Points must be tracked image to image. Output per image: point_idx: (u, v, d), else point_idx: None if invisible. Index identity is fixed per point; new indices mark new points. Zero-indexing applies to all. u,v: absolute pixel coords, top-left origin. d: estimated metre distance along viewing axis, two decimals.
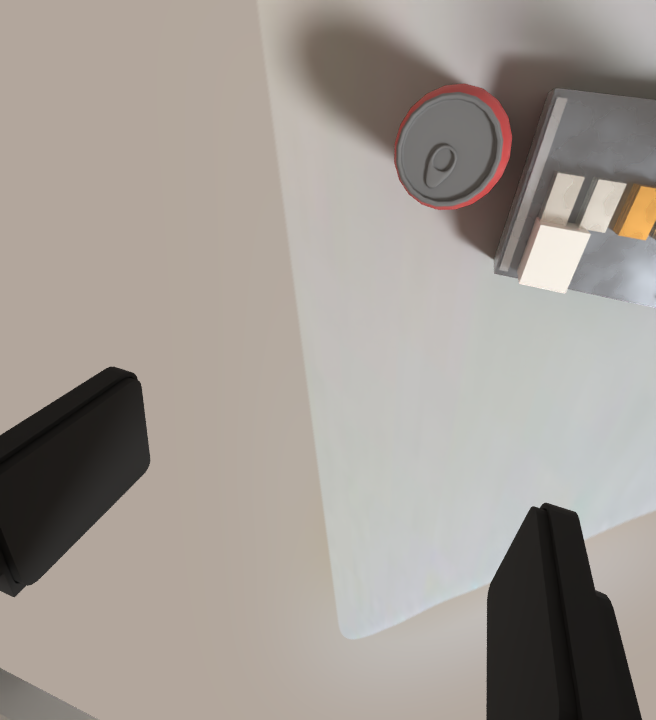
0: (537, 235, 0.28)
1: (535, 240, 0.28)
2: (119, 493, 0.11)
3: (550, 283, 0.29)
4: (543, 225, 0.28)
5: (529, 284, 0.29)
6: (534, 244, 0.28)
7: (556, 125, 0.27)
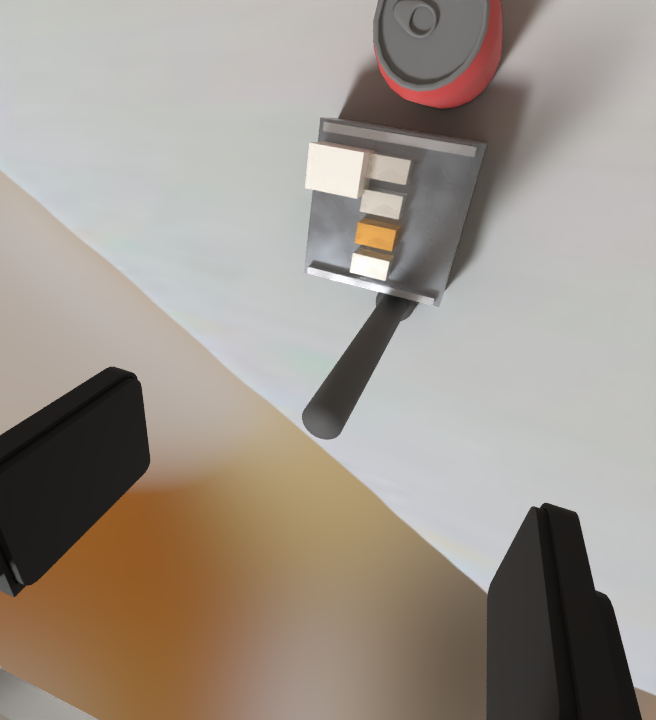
0: (354, 151, 0.29)
1: (350, 150, 0.29)
2: (119, 493, 0.11)
3: (312, 172, 0.31)
4: (363, 155, 0.29)
5: (309, 153, 0.30)
6: (346, 150, 0.29)
7: (452, 151, 0.29)
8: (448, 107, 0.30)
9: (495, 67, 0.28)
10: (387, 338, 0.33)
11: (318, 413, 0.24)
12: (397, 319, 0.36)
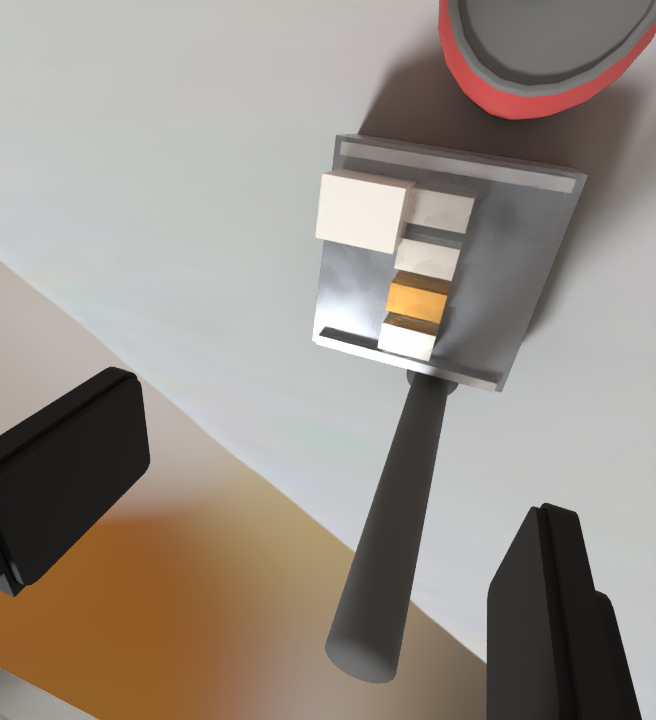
0: (391, 187, 0.20)
1: (384, 185, 0.20)
2: (119, 493, 0.11)
3: (326, 216, 0.21)
4: (404, 192, 0.19)
5: (322, 188, 0.20)
6: (378, 185, 0.20)
7: (537, 185, 0.20)
8: None
9: None
10: (436, 448, 0.23)
11: (354, 649, 0.14)
12: (443, 409, 0.26)
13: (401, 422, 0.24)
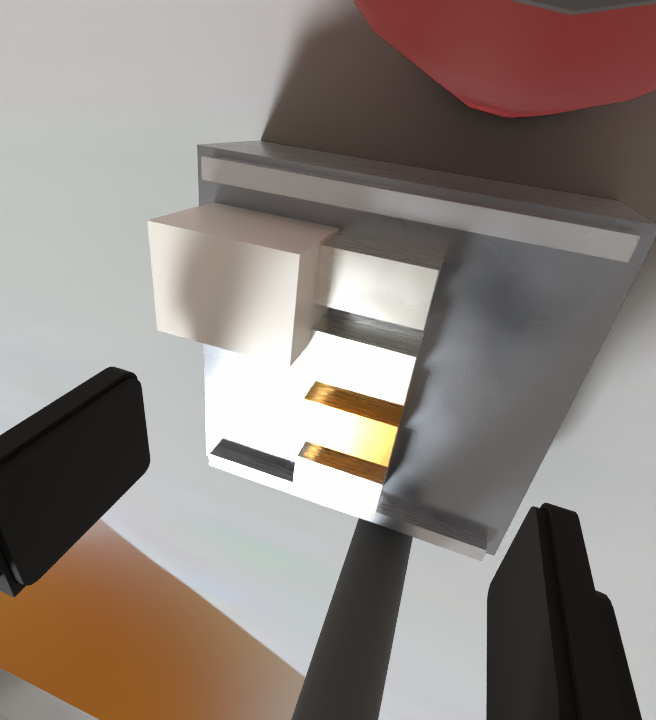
0: (272, 249, 0.10)
1: (259, 246, 0.10)
2: (119, 493, 0.11)
3: (168, 296, 0.11)
4: (299, 261, 0.10)
5: (153, 247, 0.11)
6: (249, 245, 0.10)
7: (561, 244, 0.10)
8: (534, 115, 0.11)
9: None
10: (382, 687, 0.13)
11: None
12: (402, 579, 0.16)
13: (328, 622, 0.14)
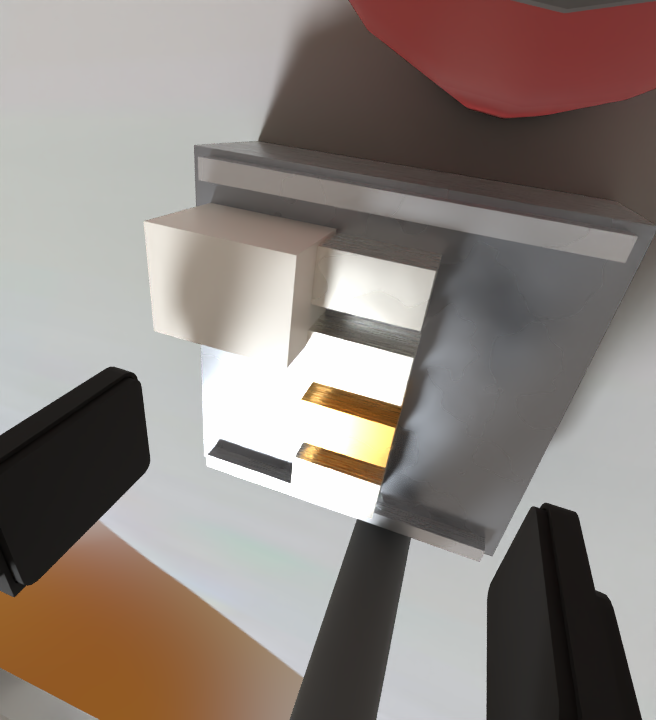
0: (269, 250, 0.10)
1: (256, 247, 0.10)
2: (119, 493, 0.11)
3: (165, 297, 0.11)
4: (296, 262, 0.10)
5: (149, 248, 0.11)
6: (245, 246, 0.10)
7: (558, 245, 0.10)
8: None
9: None
10: (380, 688, 0.13)
11: None
12: (400, 580, 0.16)
13: (326, 623, 0.14)
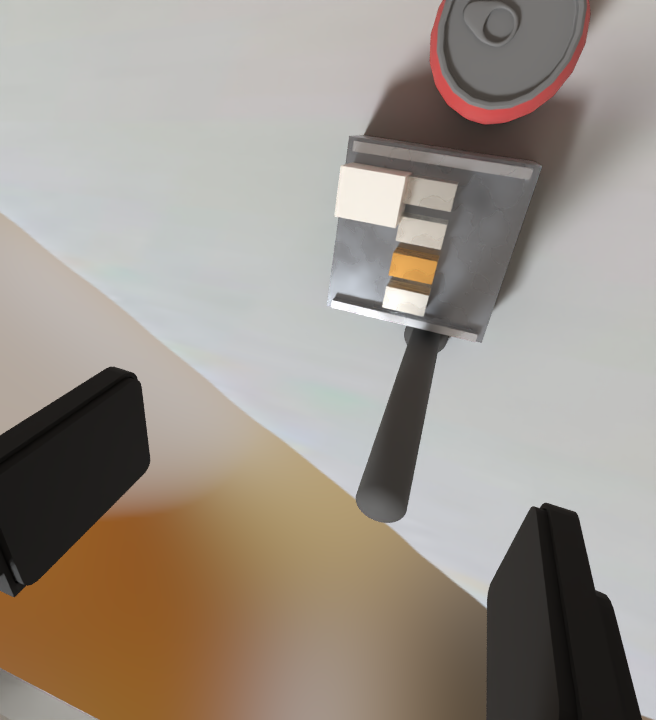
0: (394, 175, 0.26)
1: (388, 174, 0.26)
2: (119, 493, 0.11)
3: (343, 199, 0.27)
4: (404, 179, 0.26)
5: (340, 177, 0.26)
6: (384, 174, 0.26)
7: (504, 174, 0.26)
8: None
9: None
10: (430, 383, 0.29)
11: (377, 494, 0.20)
12: (435, 357, 0.32)
13: (402, 365, 0.30)
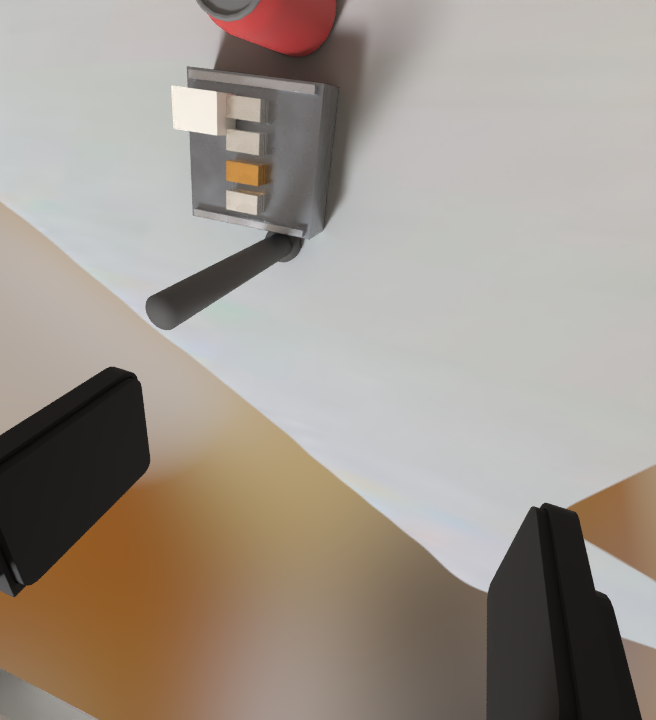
0: (209, 91, 0.33)
1: (205, 90, 0.33)
2: (119, 493, 0.11)
3: (177, 113, 0.35)
4: (217, 94, 0.33)
5: (172, 95, 0.34)
6: (202, 90, 0.33)
7: (296, 90, 0.33)
8: (296, 53, 0.34)
9: (325, 13, 0.32)
10: (255, 263, 0.36)
11: (157, 304, 0.27)
12: (273, 252, 0.39)
13: None
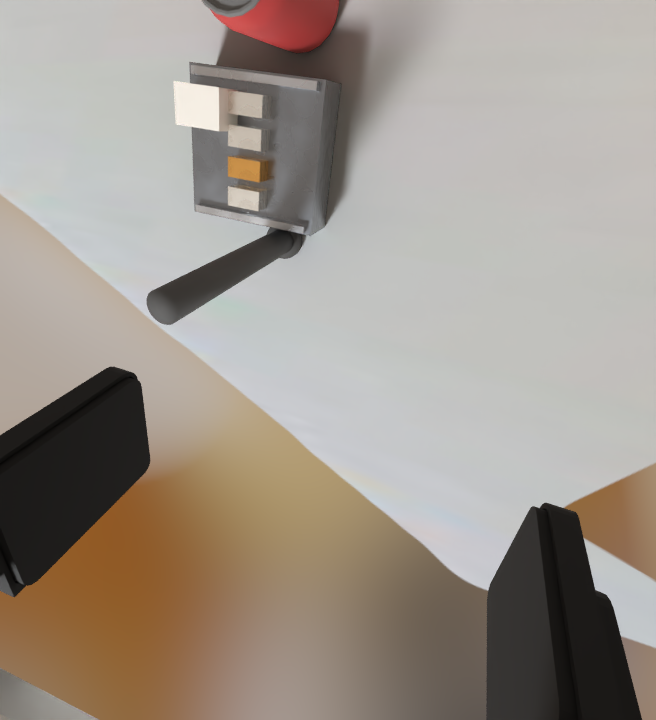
0: (211, 86, 0.33)
1: (207, 86, 0.33)
2: (119, 493, 0.11)
3: (180, 109, 0.35)
4: (219, 90, 0.33)
5: (175, 90, 0.34)
6: (204, 86, 0.33)
7: (298, 86, 0.33)
8: (298, 49, 0.35)
9: (328, 9, 0.32)
10: (256, 259, 0.36)
11: (158, 299, 0.28)
12: (274, 248, 0.40)
13: None
